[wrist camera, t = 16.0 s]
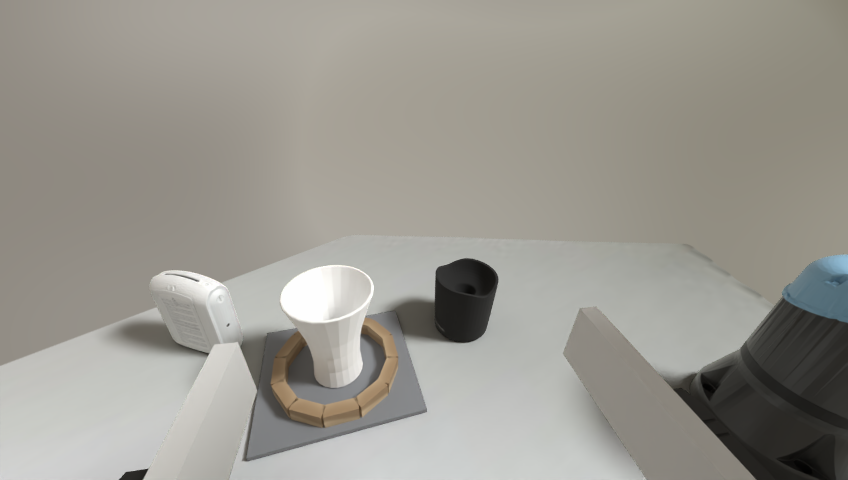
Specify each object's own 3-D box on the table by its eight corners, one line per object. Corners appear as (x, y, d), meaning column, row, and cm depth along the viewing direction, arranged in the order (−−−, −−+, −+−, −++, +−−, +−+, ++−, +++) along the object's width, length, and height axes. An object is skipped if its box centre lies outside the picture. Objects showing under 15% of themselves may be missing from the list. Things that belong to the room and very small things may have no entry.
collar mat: (395, 313, 53) (395, 310, 53) (426, 411, 39) (426, 409, 38) (268, 336, 48) (267, 333, 48) (247, 461, 33) (246, 458, 33)
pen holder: (435, 301, 56) (438, 255, 51) (487, 307, 56) (495, 261, 51) (429, 341, 48) (432, 290, 43) (490, 349, 47) (500, 298, 43)
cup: (292, 409, 37) (269, 328, 31) (304, 342, 46) (288, 267, 40) (379, 396, 39) (376, 317, 33) (375, 334, 48) (371, 262, 42)
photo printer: (250, 339, 47) (228, 273, 41) (228, 361, 44) (200, 293, 38) (195, 324, 49) (166, 259, 43) (170, 344, 46) (134, 277, 40)
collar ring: (384, 316, 52) (384, 307, 51) (409, 405, 38) (409, 395, 38) (281, 335, 47) (278, 326, 46) (268, 443, 34) (264, 433, 33)
